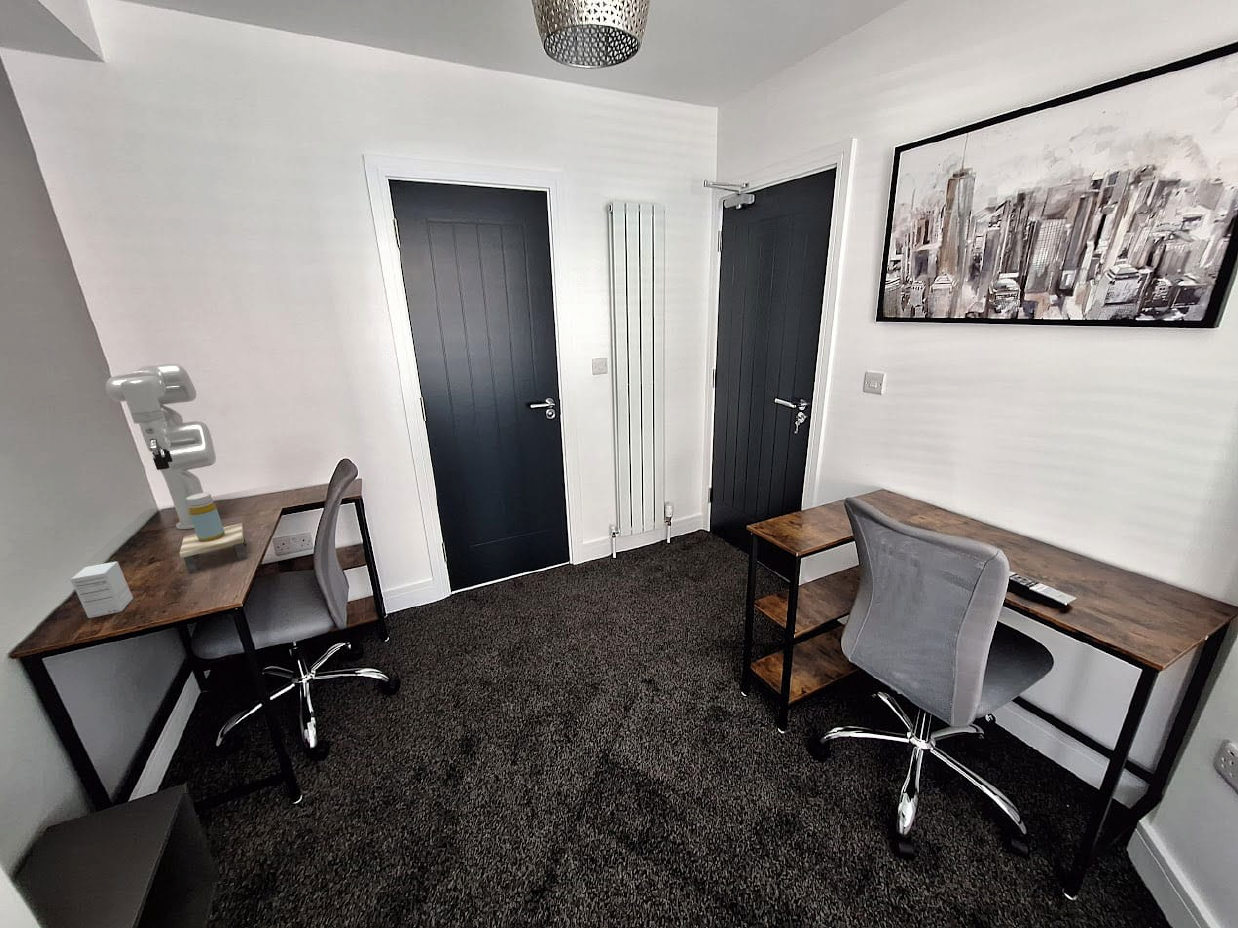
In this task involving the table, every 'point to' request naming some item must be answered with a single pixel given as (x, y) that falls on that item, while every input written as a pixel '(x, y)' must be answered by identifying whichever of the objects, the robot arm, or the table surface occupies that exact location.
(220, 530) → the bottle
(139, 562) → the table surface
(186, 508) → the robot arm
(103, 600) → the supplement box
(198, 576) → the table surface
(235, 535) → the footstool
